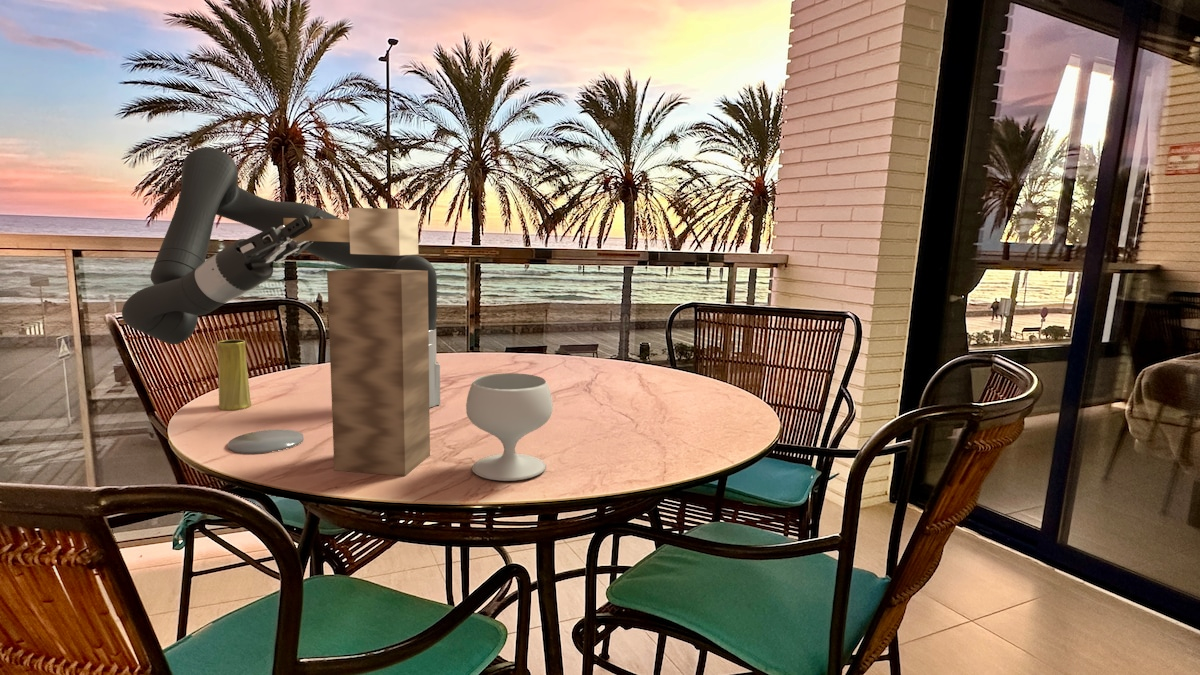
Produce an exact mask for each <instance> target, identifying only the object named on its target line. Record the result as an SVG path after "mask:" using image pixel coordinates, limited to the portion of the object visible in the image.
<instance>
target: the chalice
mask: <svg viewBox="0 0 1200 675" xmlns="http://www.w3.org/2000/svg"><path fill="white" fill-rule="evenodd" d="M465 404H466V405H465V407H466V410H465V411H466V416H467V418H468V419H469V421H470V422H471V423H472V425H473V426H475V427H477V428H478V429H480V430H481V431H484V432H486V433H488V434H491V435H492V436H494V437H496V438H497V439H498V440H499V441H500V443H501V444H502V446H503V452H502V453H500V454H494V455H489V456H485V457H483V458H481V459H478V460H477V461H475V462H474V463H473V465H472V467H471V470H472V472H473V473H474V474H475V475H477V476H478V477H480V478H483V479H486V480H492V481H501V482H502V481H504V482H509V481H510V482H511V481H512V482H513V481H522V480H523V481H524V480H527V479H532V478H535V477H538V476H539V475H541V474H542V473H544V472H545V471H546V470H547V464H546V463H545V462H544V460H542V459H541V458H538V457H536V456H533V455H529V454H521V453H516V447H517V444H518V442H519V441H520V440H521V439H522V438H523V437H525V436H526V435H528V434H530V433H532V432H534V431H536V430H538V429H541V427H543V426H544V425H545V424H547V422H548V421H550V419H551V416H552V414H553V409H554V408H553V407H554V403H553V396H552V392H551V388H550V386H549V385H548V382H547V381H546V379H545V378H543V377H541V376H538V375H535V374H528V373H516V372H515V373H514V372H513V373H512V372H511V373H506V372H505V373H493V374H487V375H482V376H478V377H477V378H475V379H474V380H473V381H472V384H471V385H470V388H469V390H468V394H467V396H466V403H465Z"/></svg>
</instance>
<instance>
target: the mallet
mask: <svg viewBox="0 0 1200 675" xmlns="http://www.w3.org/2000/svg"><path fill="white" fill-rule="evenodd" d="M418 214H419V213H418V210H414V209H405V208H383V207H382V208H377V207H373V208H372V207H371V208H370V207H348V219H345V218H344V219H342V218H340V219H309V220H310V221H311V223H312V228H310V229H309V230H307V231H306V232H304V233H302V234H301V235H299V236H297V237H296V238H293V240H292V241H325V242H350V254H367V255H399V256H400V255H419V216H418ZM295 219H297V218H283V221H284V225H285V226H286V225H287V224H289V223H290V222H292V221H294V220H295Z"/></svg>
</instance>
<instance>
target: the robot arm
mask: <svg viewBox="0 0 1200 675" xmlns="http://www.w3.org/2000/svg"><path fill="white" fill-rule="evenodd" d="M238 172H239V170H238V167H237V164H236V163H235V161H234V158H232V157H231V156H230V155H229V154H228V153H227V152H225V151H223V150H222V149H218V148H214V147H208V146H206V147H200V148H196V149H194V150H192V151H191V152H189V153H188V154H187V156H185V158H184V161H183V163H182V167H181V188H180V193H179V197H178V200H177V204H176V207H175V211H174V213H173V215H172V218H171V220H170V221H171V222H169V223H170V224H169V226H168V228H167V230H166V233H165V236H164V238H163V241H162V242H161V245H160V248H159V251H158V252H157V255H156V258H155V261H154V264H153V266H152V269H151V272H150V281H151V283H152V284H153V285H150V286H146V287H144V288H142V289H140V290H138V291H136V292H135V293H133V294H132V295H131V296H129V298H127V299H126V301H125V302H124V304H123V306H122V308H121V317H122V320H123V322H124V323H125V324H126V325H127V326H128V327H130V328H132V329H134V330H135V331H138V332H141V333H143V334H146V335H147V336H150V337H151V338H154V339H156V340H159V341H160V342H163V343H164V344H165V343H166V344H167V345H168V344H169V345H178V344H182V343H184V342H185V341H186V340H188V339H189V338H190V337H191V336H192V335H193V333H194V332H195V330H196V328H197V325H198V319H199V316H205V315H207V314H210V313H212V312H213V311H215V310H217V309H218V308H220V307H221V306H224V305H226V304H227V303H228V302H230V301H232V300H235V299H238V298H240V297H241V296H243V295H245V294H246V293H248V292H249V291H251V290H252V289H254V288H256V287H257V286H259V285H260V284H262V283H264V282H266V281H267V280H269V279H270V278H271V277H272V276H273V274H274V262H275V263H280V262H281V261H283V260H286V258H287V256H290V255H292V256H293V257H297V256H299V255H300V254H301V253H303V252H306V253H309V254H311V255H314V256H315V257H317V258H321V259H323V260H326V261H329V262H331V263H334V264H337V265H341V266H344V267H347V268H350V269H356V268H368V269H394V270H420V271H428V327H429V409H430V408H433V407H435V406H440V405H441V364H440V362H438V361H437V316H438V282H437V281H438V280H437V279H438V277H437V273H436V269H435V267H434V266H433V265H432V263H431V262H430V261H429V260H427V259H426V258H425V257H422V256H419V255H418V254H415V255H400V256H399V255H367V254H350V242H325V241H292V240H293V238H296V237H297V236H299V235H301V234H302V233H304V232H306V231H307V230H309V229H310V228H312V223H311V221H310V220H309V219H341V218H340V217H338V216H336V215H334V214H332V213H330V212H328V211H326V210H323V209H322V208H319V207H317V206H316V205H312V204H309V203H304V202H295V201H293V202H292V201H277V200H270V199H268V198H267V199H266V198H263V197H260V196H258V195H256V194H254V193H252V192H250V191H247V190H245V189H243V188H241V187H240V186H238V180H239V174H238ZM216 216H220V217H223V218H225V219H228V220H231V221H234V222H236V223H240V224H242V225H246V226H248V227H250V228H253V229H255V230H257V231H260V232H259V233H256V234H255V235H253V236H250V237H248V238H239V239H238V240H235V241H234V242H232V243H231V244H228V246H226V247H224V248H223V249H222V250H220V251H218V252H217V253H214V254H213V255H211V256H210V257H209V258H207V256H208V251H209V246H210V243H211V236H212V231H213V227H214V223H215V219H216ZM283 218H297V219H295V220H294V221H292V222H290V223H289V224H287V225H286V226H285V225H284V221H283Z"/></svg>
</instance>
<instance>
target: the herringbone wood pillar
mask: <svg viewBox="0 0 1200 675" xmlns="http://www.w3.org/2000/svg"><path fill="white" fill-rule="evenodd" d="M326 276H327V277H326V279H327V281H326V282H327V283H326V284H327V285H326V286H327V305H328V306H327V308H328V332H329V334H328V335H329V357H330V358H329V362H330V388H331V391H330V392H331V416H332V417H331V418H332V419H331V420H332V445H333V468H334V469H333V470H334V471H337V472H338V471H339V472H349V473H350V472H352V473H353V472H354V473H361V474H362V473H364V474H374V475H375V474H377V475H378V474H379V475H387V476H388V475H389V476H400V477H402V476H403V477H406V476H408V474H410V473H411V472H412V471H413V470H414V469H415V468H417V467H418V466H419V465H420V464H421V463H422V462H424V461H425V460H426V459H427V458H428V457H429V456H431V436H430V435H431V434H430V433H431V429H430V428H431V427H430V426H431V425H430V423H431V422H430V418H431V417H430V414H431V413H430V408H429V327H428V271H420V270H394V269H368V268H356V269H355V268H348V269H347V268H346V269H335V270H327V271H326Z"/></svg>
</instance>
